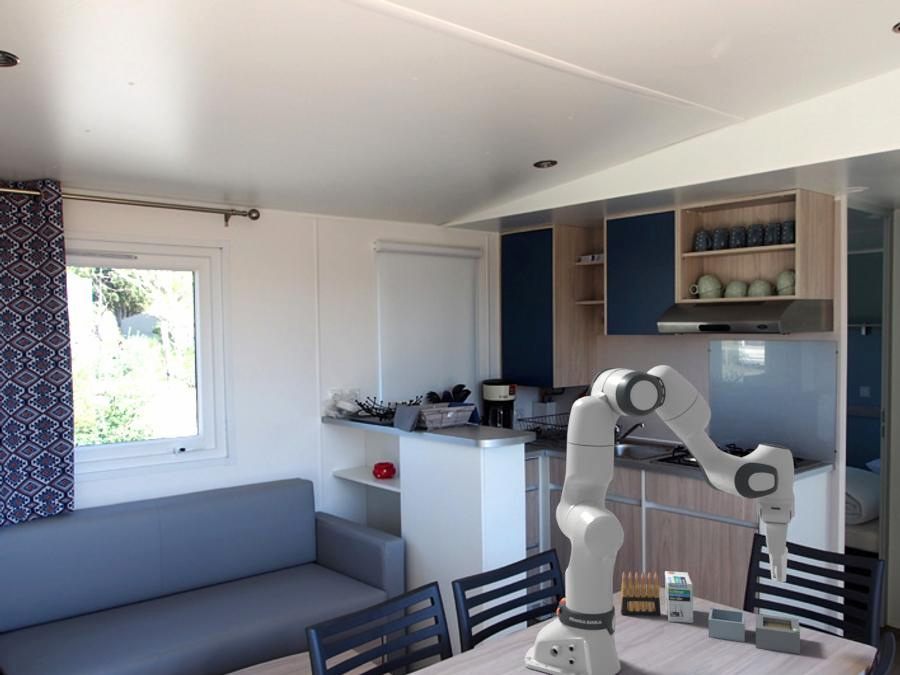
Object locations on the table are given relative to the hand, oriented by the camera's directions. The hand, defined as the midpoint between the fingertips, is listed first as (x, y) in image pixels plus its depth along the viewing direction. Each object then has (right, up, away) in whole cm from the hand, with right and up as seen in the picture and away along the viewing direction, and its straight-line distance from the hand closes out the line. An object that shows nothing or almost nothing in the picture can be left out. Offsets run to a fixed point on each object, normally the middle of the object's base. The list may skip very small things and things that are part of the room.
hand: (776, 562), depth 185 cm
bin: (-10, -21, +7) cm, 24 cm away
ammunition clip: (-29, -21, +20) cm, 41 cm away
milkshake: (0, -5, 0) cm, 5 cm away
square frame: (0, -20, 0) cm, 20 cm away
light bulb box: (-19, -21, +19) cm, 34 cm away
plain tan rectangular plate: (0, -17, 0) cm, 17 cm away
